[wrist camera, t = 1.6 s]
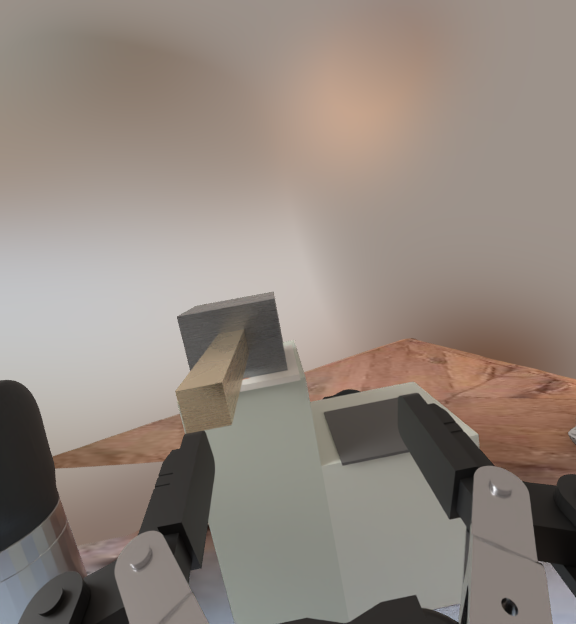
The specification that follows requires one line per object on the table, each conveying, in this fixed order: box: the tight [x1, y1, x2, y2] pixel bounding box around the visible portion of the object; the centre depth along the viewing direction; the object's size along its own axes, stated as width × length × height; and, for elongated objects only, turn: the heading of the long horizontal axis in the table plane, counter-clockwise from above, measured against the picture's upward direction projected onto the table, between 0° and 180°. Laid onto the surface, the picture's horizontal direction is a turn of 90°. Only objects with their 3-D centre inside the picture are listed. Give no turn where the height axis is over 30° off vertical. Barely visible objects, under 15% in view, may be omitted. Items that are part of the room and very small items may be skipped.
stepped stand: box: [177, 340, 480, 624], centre depth 36 cm, size 14×28×30 cm, turn 93°
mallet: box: [175, 292, 288, 434], centre depth 25 cm, size 20×9×7 cm, turn 3°
